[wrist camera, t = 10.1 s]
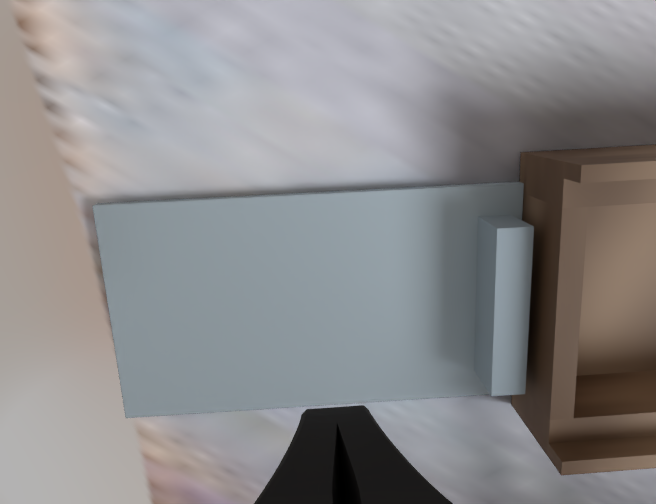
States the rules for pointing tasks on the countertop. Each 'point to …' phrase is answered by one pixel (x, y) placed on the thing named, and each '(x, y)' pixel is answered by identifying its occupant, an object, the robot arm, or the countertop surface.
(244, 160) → the countertop surface
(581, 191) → the walnut box
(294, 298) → the cover plate
